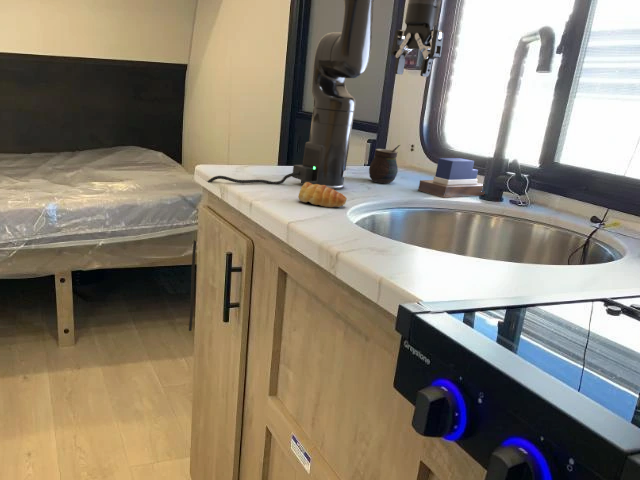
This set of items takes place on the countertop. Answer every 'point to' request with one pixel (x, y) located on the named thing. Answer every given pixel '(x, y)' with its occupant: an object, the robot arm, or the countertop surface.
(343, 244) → the countertop surface
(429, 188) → the shelf board
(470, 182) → the navy stepped block
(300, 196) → the pastry
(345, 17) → the robot arm
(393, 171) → the mate gourd
